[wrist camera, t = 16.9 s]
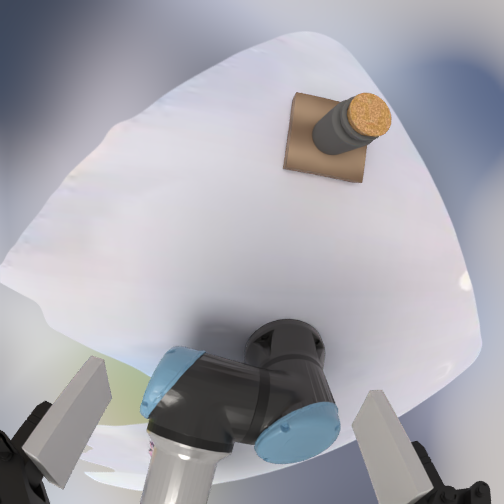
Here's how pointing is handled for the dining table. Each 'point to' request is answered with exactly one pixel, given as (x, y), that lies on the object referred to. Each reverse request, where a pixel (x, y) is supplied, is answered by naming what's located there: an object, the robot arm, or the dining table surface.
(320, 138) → the bottle
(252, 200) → the dining table surface
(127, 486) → the dining table surface
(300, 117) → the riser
